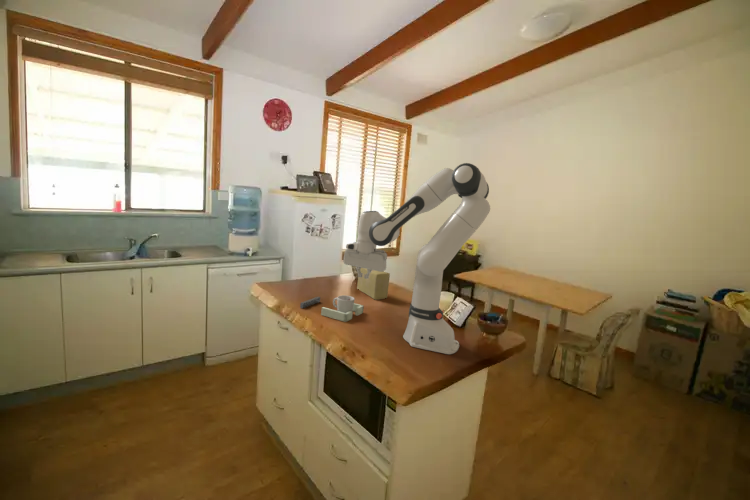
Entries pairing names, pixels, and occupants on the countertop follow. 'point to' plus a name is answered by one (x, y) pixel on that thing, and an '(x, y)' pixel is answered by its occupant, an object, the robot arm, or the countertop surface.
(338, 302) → the cup
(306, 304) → the rail
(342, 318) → the cradle
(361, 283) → the khaki rectangular box
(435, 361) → the countertop surface
